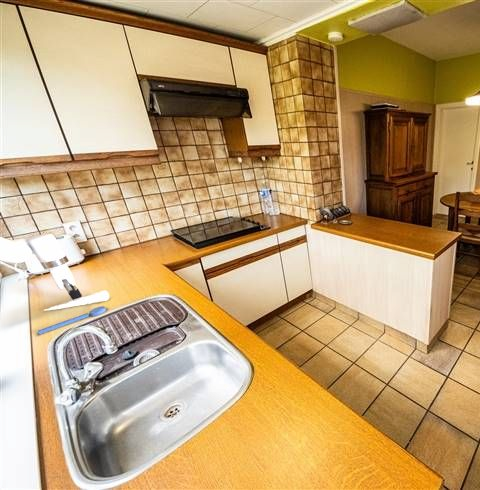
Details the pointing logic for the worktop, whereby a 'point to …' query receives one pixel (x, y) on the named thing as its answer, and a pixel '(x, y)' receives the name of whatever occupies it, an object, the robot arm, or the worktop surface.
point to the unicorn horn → (83, 300)
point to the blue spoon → (74, 319)
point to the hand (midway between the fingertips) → (77, 297)
